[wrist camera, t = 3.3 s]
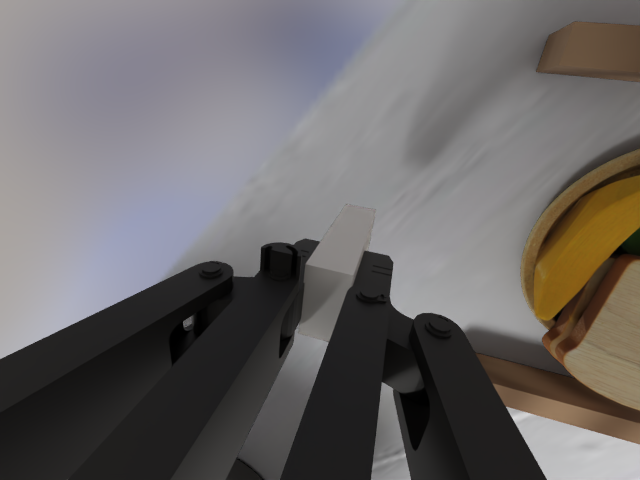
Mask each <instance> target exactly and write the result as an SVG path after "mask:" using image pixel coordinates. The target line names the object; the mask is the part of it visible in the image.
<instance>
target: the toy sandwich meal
mask: <svg viewBox="0 0 640 480" xmlns="http://www.w3.org/2000/svg"><path fill="white" fill-rule="evenodd" d="M521 285H522V290H523V294H524V297H525V299H526V301H527V304H528V306H529V308H530V309H531V311H532V312H533V314H534V315H535V317H536V318H537V319H538V320H539V322H540V323H541V324H543V325H544V326H545V327H546V328H547V329H548V330H549V331H548V332H547V333H546V334H545V335H544V336H543V338H542V342H543V344H544V346H545V348H546V349H547V350H548V351H549V353H550V354H551V355H552V356H553V357H554V358H555V359H556V360H558V361H559V362H560V363H561V364H562V365H563V366H564V367H565V368H566V369H567V371H568V372H569V373H570V374H571V375H572V376H574V377H575V378H576V379H577V380H578V381H580V382H581V383H582V384H584V385H585V386H587V387H589V388H590V389H592V390H593V391H595V392H597V393H599V394H601V395H603V396H605V397H607V398H609V399H611V400H613V401H615V402H618V403H620V404H622V405H625V406H628V407H631V408H634V409H637V410H640V149H637V150H634V151H632V152H629V153H627V154H624V155H622V156H619V157H617V158H615V159H613V160H611V161H609V162H607V163H605V164H603V165H601V166H599V167H597V168H596V169H594V170H592V171H591V172H589V173H587V174H586V175H584V176H583V177H582V178H580V179H579V180H577V181H576V182H575V183H573V184H572V185H571V186H569V187H568V188H567V189H566V190H565V191H563V192H562V193H561V194H560V195H559V196H558V197H557V198H556V199H555V200H554V201H553V202H552V203H551V204H550V205H549V206H548V207H547V209H546V210H545V211H544V212H543V214H542V215H541V216H540V218H539V219H538V221H537V222H536V224H535V225H534V227H533V229H532V231H531V233H530V235H529V237H528V240H527V242H526V245H525V248H524V251H523V255H522V261H521Z"/></svg>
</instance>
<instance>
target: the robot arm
mask: <svg viewBox="0 0 640 480" xmlns="http://www.w3.org/2000/svg"><path fill="white" fill-rule="evenodd" d="M375 213H376V210H374V209H369V208H364V207H359V206H353V205H348V204H346V205H345V206H344V208H343V209H342V211H341V212H340V214H339V215H338V217H337V218H336V220H335V221H334V223H333V224H332V225H331V227H330V228H329V230H328V231H327V233H326V234H325V236H324V237H323V239H322V240H321V242H319V241H314V240H309V239H303V240H300V241H298V242H296V243H295V244H294V245H291V244H288V243H270V244H266V245H264V246H263V247H261V264H260V271H259V272H258V273H257V274H256V275H255V277H233V269H232V267H231V266H229V265H228V264H226V263H222V262H217V261H216V262H215V261H210V262H204V263H201V264H198V265H195V266H193V267H191V268H189V269H187V270H185V271H183V272H181V273H179V274H176V275H174V276H172V277H170V278H168V279H166V280H164V281H162V282H160V283H158V284H156V285H154V286H151V287H149V288H147V289H145V290H143V291H141V292H139V293H137V294H135V295H133V296H131V297H129V298H127V299H124V300H122V301H121V302H118V303H116V304H114V305H112V306H110V307H108V308H106V309H104V310H102V311H100V312H97V313H95V314H93V315H91V316H89V317H87V318H85V319H83V320H81V321H79V322H77V323H75V324H73V325H70V326H68V327H66V328H64V329H62V330H60V331H58V332H56V333H54V334H52V335H50V336H48V337H46V338H43V339H42V340H39V341H37V342H35V343H33V344H31V345H29V346H27V347H25V348H23V349H21V350H18V351H16V352H14V353H12V354H10V355H8V356H6V357H4V358H2V359H0V480H262V479H261V478H260V477H259V476H258V475H257V474H256V473H255V472H254V471H253V470H252V469H250V468H249V467H248V466H246V465H245V464H244V463H242V462H241V461H239V460H238V459H236V458H237V456H238V454H239V452H240V450H241V448H242V446H243V444H244V442H245V440H246V438H247V436H248V434H249V431H250V429H251V427H252V425H253V423H254V421H255V419H256V417H257V415H258V413H259V411H260V409H261V407H262V405H263V403H264V401H265V399H266V397H267V395H268V393H269V391H270V389H271V387H272V385H273V383H274V381H275V379H276V377H277V375H278V373H279V371H280V369H281V367H282V365H283V363H284V361H285V359H286V357H287V355H288V353H289V351H290V349H291V347H292V345H293V341H294V334H295V329H296V327H297V326H298V324H299V331H298V333H299V334H302V335H306V336H309V337H313V338H317V339H320V340H324V341H327V342H329V344H328V346H327V349H326V352H325V355H324V358H323V360H322V363H321V366H320V369H319V372H318V374H317V377H316V380H315V383H314V386H313V388H312V391H311V394H310V397H309V400H308V402H307V405H306V408H305V411H304V414H303V417H302V419H301V422H300V425H299V428H298V431H297V433H296V436H295V439H294V442H293V445H292V447H291V450H290V453H289V456H288V459H287V461H286V464H285V467H284V470H283V473H282V476H281V478H280V480H371V472H372V463H373V455H374V446H375V437H376V428H377V419H378V410H379V402H380V393H381V384H382V382H383V383H385V384H387V385H388V386H390V387H392V388H393V396H394V401H395V405H396V410H397V415H398V419H399V424H400V429H401V434H402V438H403V443H404V448H405V453H406V457H407V462H408V467H409V471H410V476H411V480H547V479H546V477H545V476H544V474H543V472H542V470H541V468H540V467H539V465H538V463H537V461H536V460H535V458H534V456H533V454H532V453H531V451H530V449H529V447H528V445H527V444H526V442H525V440H524V438H523V437H522V435H521V433H520V431H519V430H518V428H517V426H516V424H515V422H514V421H513V419H512V417H511V415H510V414H509V412H508V410H507V408H506V407H505V405H504V403H503V401H502V399H501V398H500V396H499V394H498V392H497V391H496V389H495V387H494V385H493V384H492V382H491V380H490V378H489V376H488V375H487V373H486V371H485V369H484V368H483V366H482V364H481V362H480V361H479V359H478V357H477V355H476V353H475V352H474V350H473V348H472V346H471V345H470V343H469V341H468V339H467V338H466V336H465V334H464V332H463V331H462V330H461V328H460V327H459V326H458V325H457V324H456V323H454V322H453V321H452V320H450V319H448V318H446V317H444V316H441V315H438V314H433V313H422V314H420V315H417V316H416V318H415V319H414V320H413V319H411V318H409V317H407V316H405V315H403V314H401V313H400V312H399V311H397V310H396V309H395V308H394V307H393V306H392V304H391V301H390V297H389V296H390V288H391V279H392V270H393V261H392V260H391V258H390V257H389V256H387V255H383V254H378V253H373V252H369V251H368V249H369V243H370V238H371V233H372V228H373V223H374V218H375ZM191 316H192V324H191V325H189V326H188V327H185V328H184V327H183V321H184V320H186V319H187V318H189V317H191Z"/></svg>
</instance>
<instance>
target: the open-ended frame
mask: <svg viewBox="0 0 640 480" xmlns="http://www.w3.org/2000/svg"><path fill="white" fill-rule="evenodd" d="M536 72H541V73H552V74H562V75H573V76H583V77H594V78H604V79H615V80H625V81H636V82H640V26H637V25H622V24H607V23H591V22H576V21H575V22H573V23H571V24H569V25H567V26H566V27H564V28H562V29H560V30H558V31H556V32H554V33H552V34H551V35H549V37H548V39H547V42H546V45H545V48H544V51H543V54H542V56H541V59H540V62H539V65H538V68H537V71H536ZM476 355H477V357H478V359H479V361H480V362H481V364H482V366H483V368H484V369H485V371H486V373H487V375H488V376H489V378H490V380H491V382H492V384H493V385H494V387H495V389H496V391H497V392H498V394H499V396H500V398H501V399H502V401H503V403H504V405H505V406H506V407H510V408H513V409H517V410H521V411H524V412H528V413H531V414H535V415H538V416H542V417H545V418H549V419H552V420H556V421H559V422H563V423H566V424H570V425H573V426H577V427H580V428H584V429H588V430H591V431H595V432H598V433H602V434H605V435H609V436H612V437H616V438H619V439H623V440H626V441H630V442H633V443H637V444H640V410H637V409H634V408H631V407H628V406H625V405H622V404H620V403H618V402H615V401H613V400H611V399H609V398H607V397H605V396H603V395H601V394H599V393H597V392H595V391H593V390H592V389H590V388H589V387H587V386H585V385H584V384H582V383H581V382H580V381H578V380H577V379H575V378H571V377H568V376H564V375H560V374H556V373H552V372H548V371H544V370H540V369H537V368H533V367H529V366H525V365H521V364H517V363H513V362H509V361H506V360H502V359H498V358H494V357H490V356H486V355H482V354H478V353H476Z"/></svg>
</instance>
